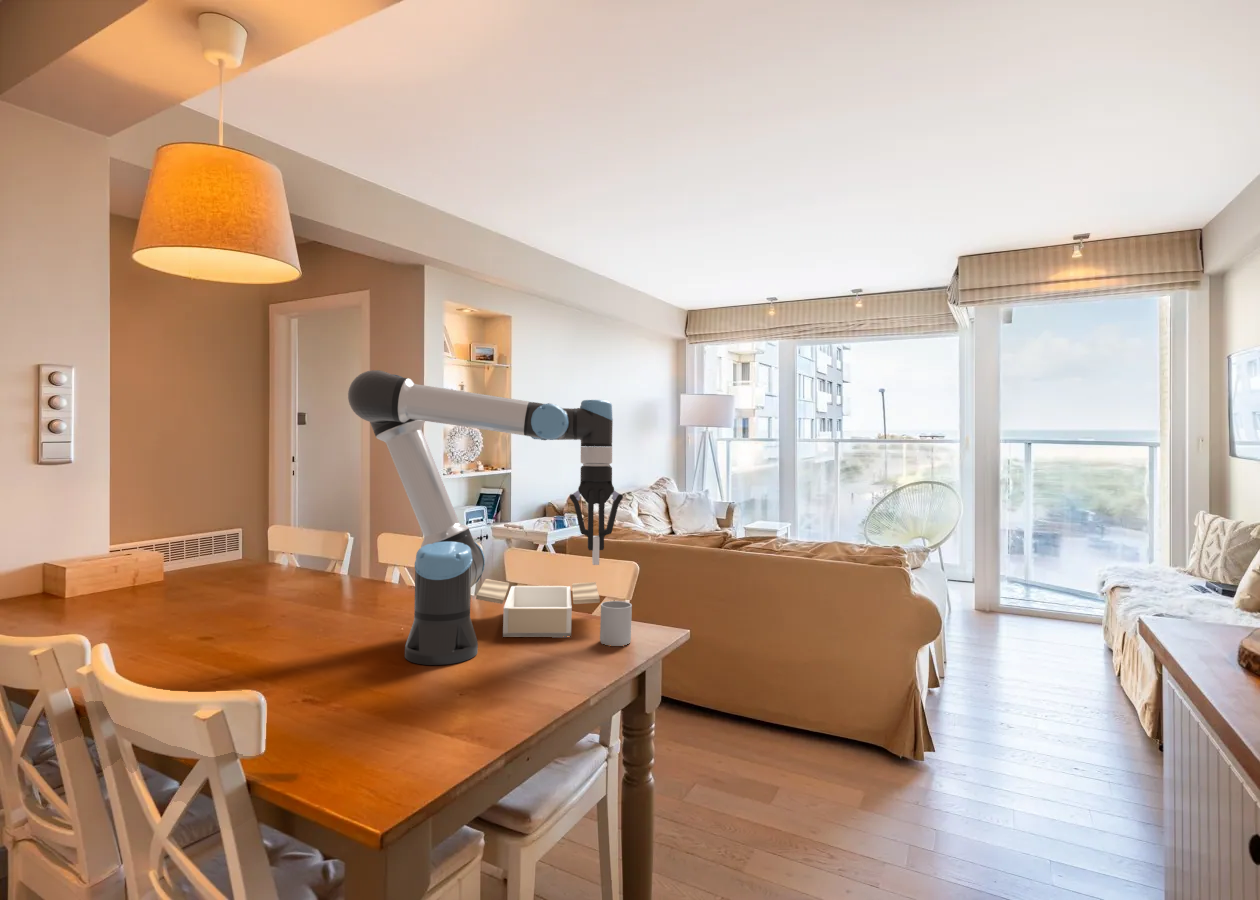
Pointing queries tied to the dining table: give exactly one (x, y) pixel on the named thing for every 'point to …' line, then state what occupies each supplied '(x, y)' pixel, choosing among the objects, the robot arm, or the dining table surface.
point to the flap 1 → (493, 591)
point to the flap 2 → (585, 593)
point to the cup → (615, 623)
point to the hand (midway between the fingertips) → (595, 563)
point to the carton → (538, 611)
